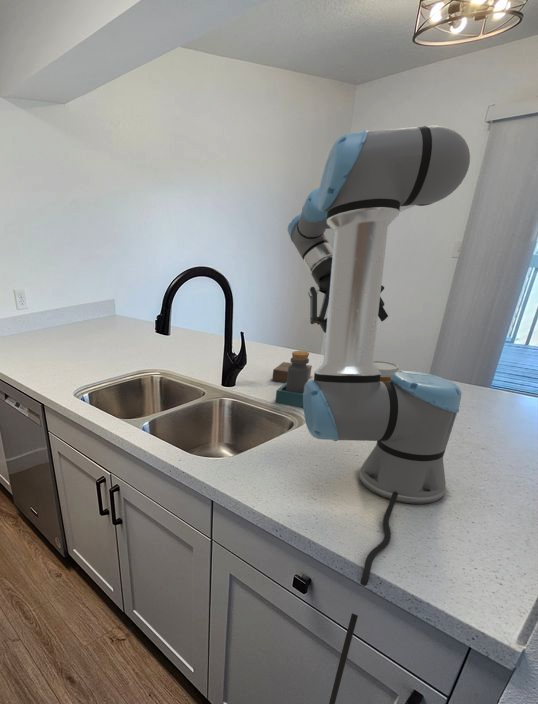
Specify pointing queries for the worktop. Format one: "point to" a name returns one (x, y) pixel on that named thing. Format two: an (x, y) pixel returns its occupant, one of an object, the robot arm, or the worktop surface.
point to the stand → (284, 372)
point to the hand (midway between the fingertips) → (360, 330)
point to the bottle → (298, 372)
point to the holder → (288, 397)
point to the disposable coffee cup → (386, 369)
